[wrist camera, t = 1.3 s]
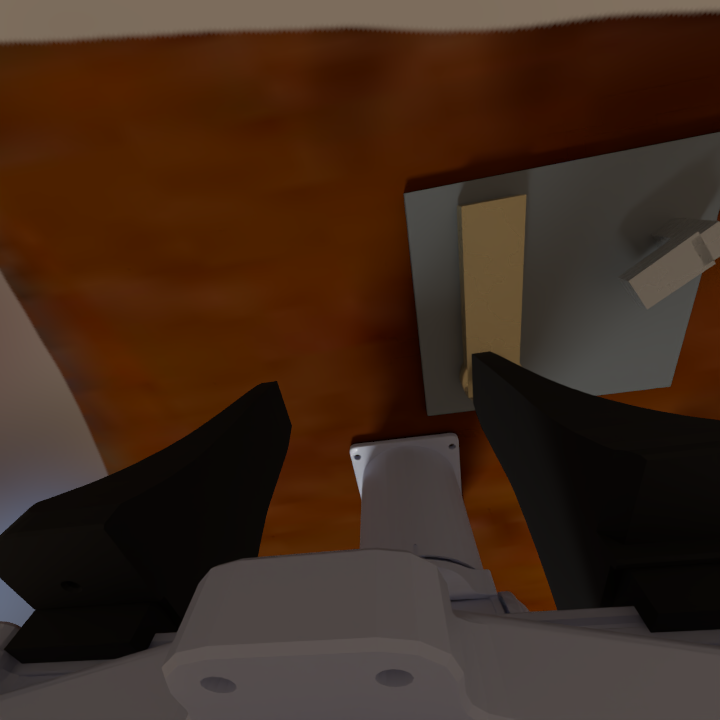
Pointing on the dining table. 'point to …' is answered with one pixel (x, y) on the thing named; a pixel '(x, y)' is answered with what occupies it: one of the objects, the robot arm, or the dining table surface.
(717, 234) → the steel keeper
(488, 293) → the brass link
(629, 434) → the robot arm
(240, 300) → the dining table surface
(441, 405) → the slate board
